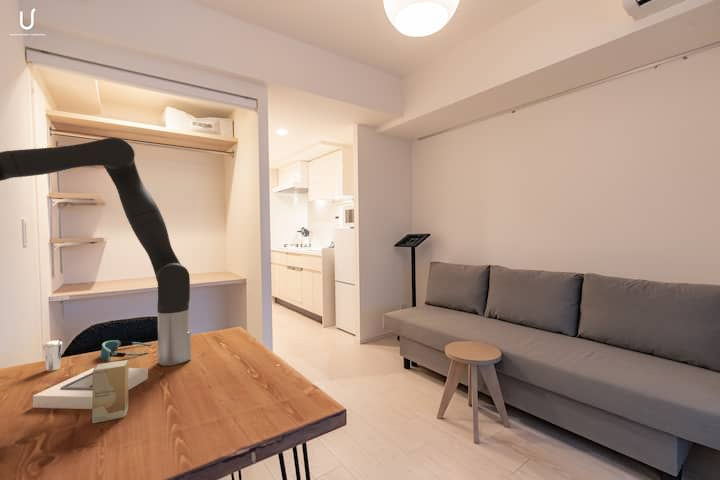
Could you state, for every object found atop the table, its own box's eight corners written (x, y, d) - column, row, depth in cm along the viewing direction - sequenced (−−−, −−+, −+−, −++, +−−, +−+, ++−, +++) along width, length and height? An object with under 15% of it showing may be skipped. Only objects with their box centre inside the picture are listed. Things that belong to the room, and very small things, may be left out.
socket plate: (94, 377, 96) (94, 366, 96) (147, 378, 95) (147, 367, 95) (33, 407, 80) (32, 394, 80) (97, 409, 78) (97, 395, 78)
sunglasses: (105, 351, 120) (107, 337, 120) (151, 349, 127) (153, 336, 127) (94, 363, 108) (96, 348, 108) (147, 361, 114) (148, 347, 115)
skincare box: (91, 424, 72) (90, 370, 72) (96, 415, 76) (95, 363, 76) (126, 417, 75) (125, 365, 75) (129, 408, 79) (129, 358, 79)
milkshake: (52, 372, 100) (52, 341, 100) (39, 371, 101) (38, 340, 101) (68, 367, 105) (68, 336, 105) (55, 366, 106) (55, 335, 106)
